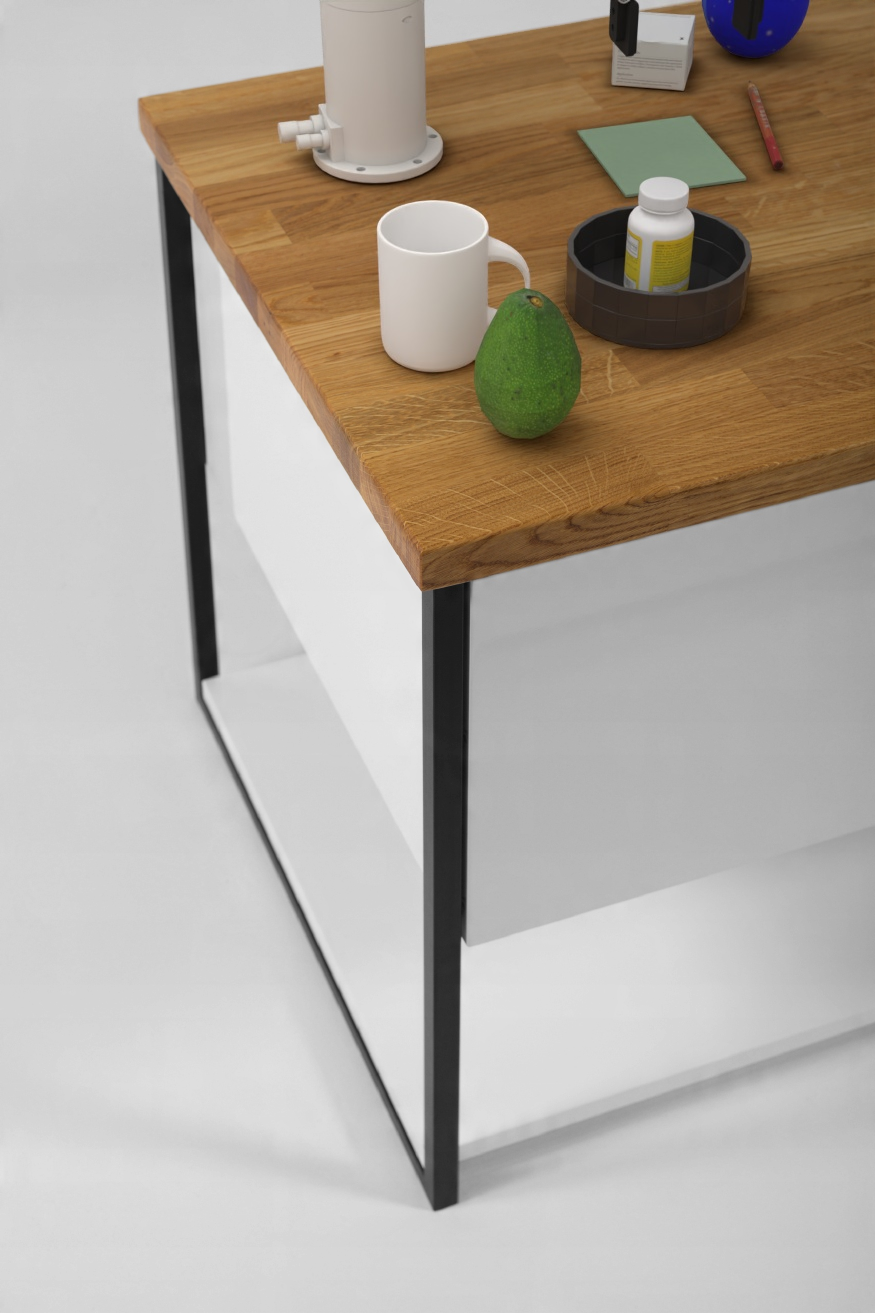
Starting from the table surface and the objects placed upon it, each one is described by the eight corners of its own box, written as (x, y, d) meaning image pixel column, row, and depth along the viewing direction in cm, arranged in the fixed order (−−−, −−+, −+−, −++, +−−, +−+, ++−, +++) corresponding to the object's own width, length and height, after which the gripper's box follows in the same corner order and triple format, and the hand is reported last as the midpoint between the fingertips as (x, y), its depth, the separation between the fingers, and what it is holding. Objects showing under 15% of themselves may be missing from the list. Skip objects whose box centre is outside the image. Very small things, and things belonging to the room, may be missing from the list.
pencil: (783, 170, 154) (784, 160, 154) (772, 170, 154) (773, 160, 154) (754, 85, 168) (755, 76, 167) (743, 85, 168) (744, 76, 167)
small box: (693, 61, 173) (698, 13, 169) (684, 92, 167) (689, 43, 164) (620, 56, 174) (623, 7, 171) (609, 86, 169) (612, 37, 165)
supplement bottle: (698, 290, 138) (709, 182, 131) (669, 319, 134) (679, 210, 128) (640, 273, 140) (649, 166, 133) (611, 301, 136) (618, 193, 130)
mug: (533, 371, 130) (538, 250, 122) (383, 377, 129) (378, 256, 122) (523, 314, 136) (527, 196, 129) (379, 320, 136) (375, 201, 128)
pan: (599, 361, 131) (603, 306, 127) (542, 270, 141) (544, 217, 138) (772, 333, 133) (780, 279, 130) (703, 246, 144) (709, 194, 141)
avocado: (483, 466, 121) (485, 324, 112) (465, 406, 126) (465, 268, 118) (589, 455, 121) (598, 314, 113) (566, 396, 127) (573, 258, 119)
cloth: (625, 197, 151) (626, 194, 151) (577, 133, 161) (577, 130, 161) (746, 180, 153) (746, 177, 153) (690, 118, 163) (691, 115, 163)
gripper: (797, -233, 116) (769, 9, 127) (567, -209, 113) (560, 37, 124) (844, -205, 110) (811, 45, 122) (604, -179, 107) (593, 75, 119)
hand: (684, 41), depth 123 cm, fingers open, 9 cm apart
